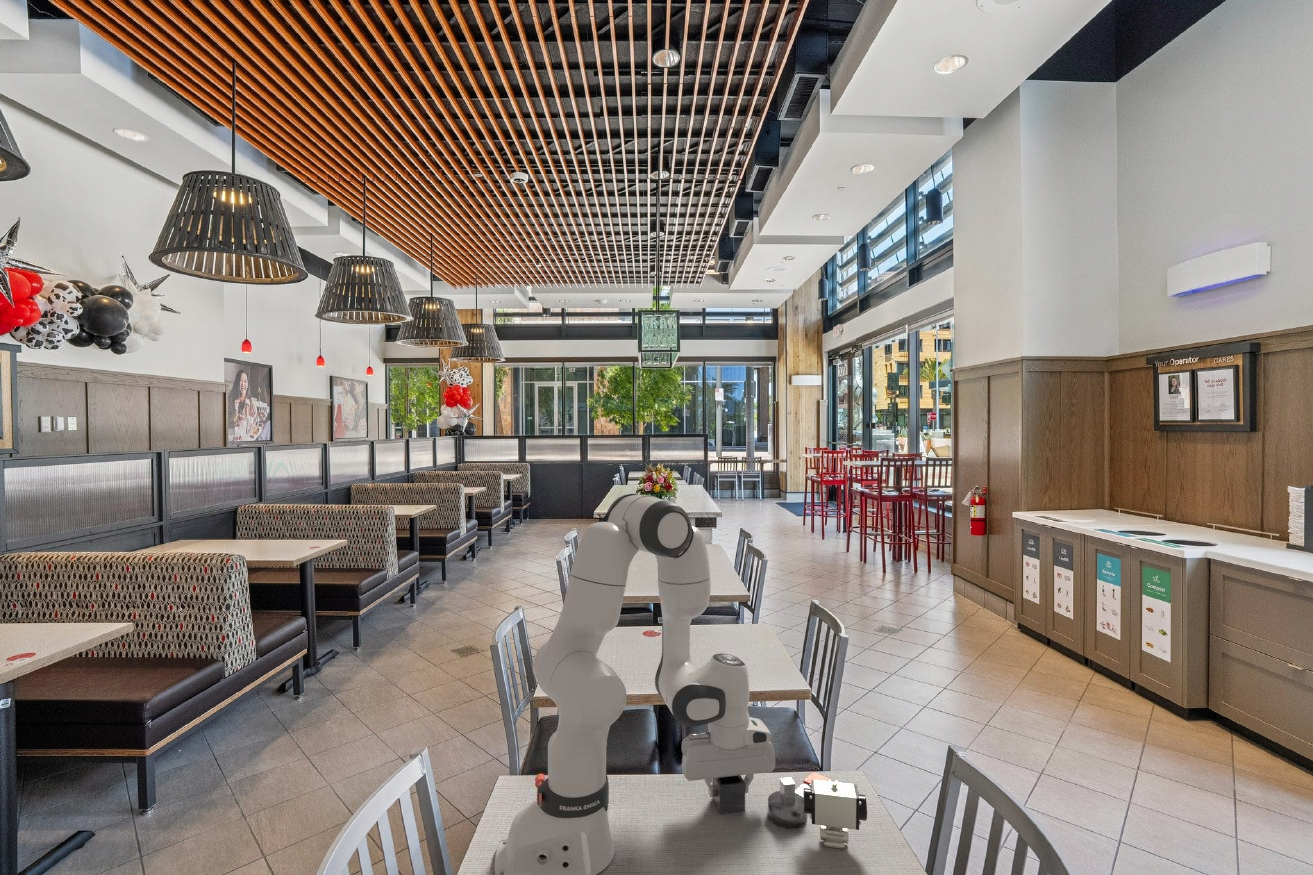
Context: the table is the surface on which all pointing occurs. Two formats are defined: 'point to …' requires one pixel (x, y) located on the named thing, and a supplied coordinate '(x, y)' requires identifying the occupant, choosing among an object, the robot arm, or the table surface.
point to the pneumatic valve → (834, 810)
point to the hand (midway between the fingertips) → (728, 793)
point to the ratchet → (790, 803)
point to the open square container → (729, 794)
